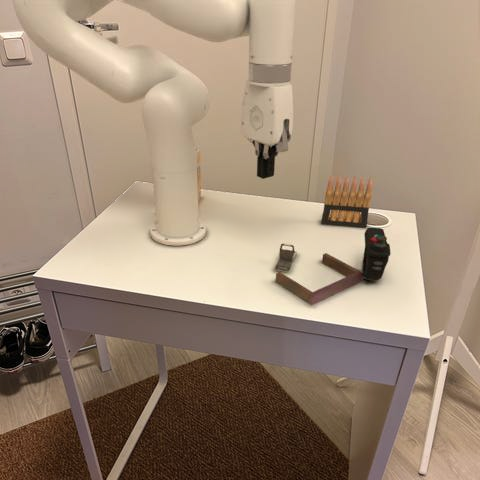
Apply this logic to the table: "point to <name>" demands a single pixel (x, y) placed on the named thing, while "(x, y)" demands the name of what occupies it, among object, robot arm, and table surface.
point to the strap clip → (286, 258)
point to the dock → (327, 291)
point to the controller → (375, 254)
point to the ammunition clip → (347, 204)
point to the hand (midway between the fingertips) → (265, 176)
